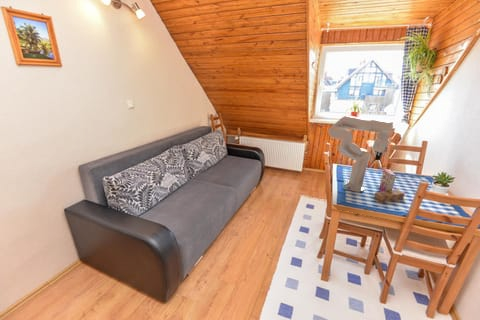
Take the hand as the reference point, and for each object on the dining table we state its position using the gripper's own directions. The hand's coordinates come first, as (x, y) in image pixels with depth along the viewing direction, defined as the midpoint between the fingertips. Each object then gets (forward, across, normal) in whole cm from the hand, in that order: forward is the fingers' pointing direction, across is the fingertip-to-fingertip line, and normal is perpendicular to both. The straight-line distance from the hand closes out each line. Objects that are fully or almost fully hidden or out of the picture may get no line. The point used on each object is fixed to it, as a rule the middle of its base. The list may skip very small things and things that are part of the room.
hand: (377, 159), depth 172 cm
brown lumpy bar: (+22, +23, -4) cm, 32 cm away
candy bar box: (+21, +13, +1) cm, 25 cm away
